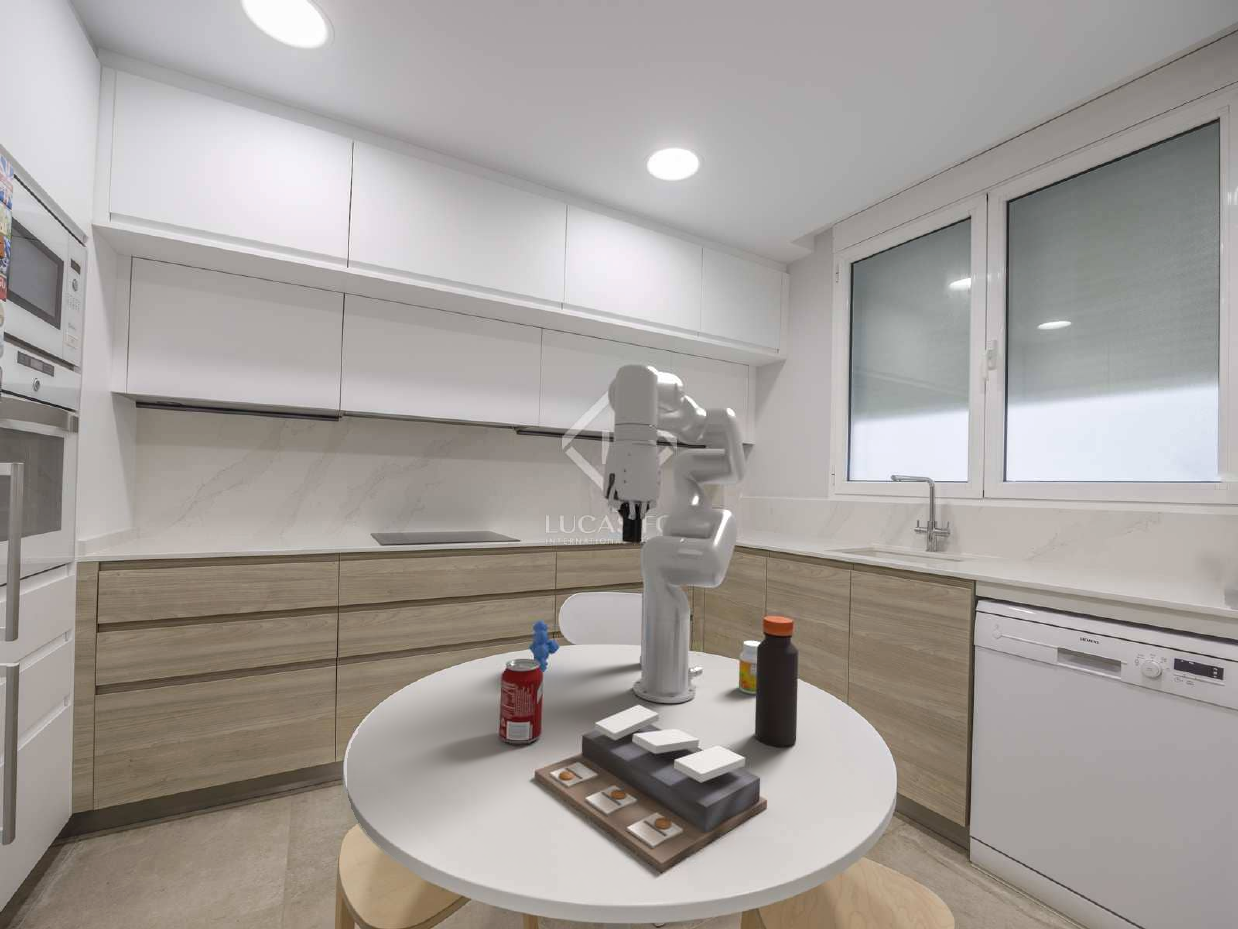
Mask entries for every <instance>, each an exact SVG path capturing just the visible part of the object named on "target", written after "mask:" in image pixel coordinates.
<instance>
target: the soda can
mask: <svg viewBox="0 0 1238 929" xmlns="http://www.w3.org/2000/svg"><path fill="white" fill-rule="evenodd" d="M533 659H534V658H533ZM533 659H531V658H516V659H511V660H508V661H507V662H506V663H505V669H504V671H503V672H502V674H501V678H500V679H501V680H500V681H501V684H500V707H499V708H500V709H499V726H498V727H499V728H498V729H499V732H498V735H499V738H500V739H502V741H504V742H506V743H508V744H511V745H516V746H520V745H527V744H530V743H532V742H534V741H535V740H537V739H539V737H540V736H541V734H542V718H543V717H542V716H543V715H542V713H543V691H544V690H543V689H544V673H543V672H542V671H541V669H540V668H539V666H540V663H539V662H538V661H536V660H533Z"/></svg>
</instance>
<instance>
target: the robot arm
mask: <svg viewBox="0 0 1238 929" xmlns="http://www.w3.org/2000/svg"><path fill="white" fill-rule="evenodd" d="M607 398H608V403H609V405H610V407H611V409H612V411H613V412H614V426H613V428H614V429H613V442H611V443H609V446H608V449H607V454H606V459H605V465H604V471H603V472H604V473H603V483H602V485H603V486H602V495H603V496H602V497H603V498H604V499H606V500H607V507H609V508H611V509H614V510H616V511H617V512H618V514H619V517H620V519H621V520H622V532H621V533H622V538H621V539H622V542H624V543H629V544H630V543H632V544H636V543H638V544H639V543H641V542H642V531H643V527H642V526H643V520H645V519H646V514H647V513H648V511H649V510H652V509H655V508H656V507H657V506H658V504H657V503H658V502H657V500H658V499H659V498H660V494H661V486H662V485H661V483H662V482H661V481H662V480H661V478H662V476H661V460H660V459H661V458H660V452H659V446H658V444H657V440H659V433H658V431H661V432H667V433H669V434H670V435H672V436H673V437H674V438H676V439H677V440H679V441H680V442H682V444H686V445H692V446H723V448H691V449H685V450H681V451H680V452H679V453H678V454H677V455H676V456H675V457H674V460H673V466H672V474H673V486H674V491H675V501H674V502H673V505H672V506H671V509H670V510H669V512H668V515H667V516H666V518H665V521H664V523H663V526H662V531H661V532H662V535H659V536H654V537H650V538H649V539H647V540H646V541H645V542H644V544H643V545H642V547H641V550H640V567H641V572H642V573H641V574H642V575H641V576H642V582H643V592H644V616H643V646H642V666H641V676H640V677H641V678H639V679H637V680H636V681H635V682H634V683H633V686H632V688H633V692H634V694H635V695H636V696H637V697H639V698H641V699H644V700H646V701H650V702H654V703H660V704H679V703H684V702H687V701H690V700H691V699H694V697H695V696H696V687H695V686H694V684H693V683H692V681H691V680H693V679H694V678H696V677H700V676H702V674H703V669H702V667H701V666H699V665H697V666H694V667H690V666H689V662H690V660H689V659H690V630H691V629H690V627H691V625H690V624H691V604H690V601H689V599H688V597H687V595H686V593H685V591H684V590H683V589H682V587H681V586H689V587H690V586H691V587H699V588H709V589H710V588H711V589H712V588H717V587H718V586H720V585H721V584H722V582H723V581H724V579H725V576H726V574H727V571H728V568H729V565H730V562H731V558H732V556H733V553H734V550H735V546H736V543H737V542H736V541H737V536H738V535H737V534H738V525H737V519H736V517H735V515H734V514H733V513H732V512H731V511H730V510H728V509H725V508H720V507H719V508H718V507H713V503H712V500H711V498H710V497H709V495H708V494H707V492H706V491H705V490H704V489H703V488H702V487H701V486H700V485H716V486H717V485H721V486H722V485H723V486H724V485H725V486H728V485H729V486H734V485H737V484H740V483H741V482H742V481H743V479H745V474H746V458H745V453H744V447H743V439H742V433H741V428H740V424H739V421H738V418H737V416H736V414H735V412H734V411H733V410H732V409H731V408H728V407H700V406H699V405H698V404H696V402H695V401H694V400H693V399H692V398H690V397H689V396H687V395H686V394H685V387H684V385H683V383H682V381H681V379H679V377H678V376H676V375H675V374H673V373H670V372H663V371H659V370H657V369H656V368H655V367H653V366H650V365H646V364H626V365H622V366H621V367H619V368H618V369H617V371H616V374H615V378H614V379H613V380H612V381H611V382H610V384H609V386H608V390H607Z"/></svg>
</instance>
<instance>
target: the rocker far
mask: <svg viewBox="0 0 1238 929" xmlns="http://www.w3.org/2000/svg"><path fill="white" fill-rule="evenodd" d="M659 718H660V716H659V713H658V712H655V711H654V710H652V709H649V708H647V707H644V706H642V705H640V704H636V705H634V706H633V707H630V708H627V709H625V710H623V711H620V712H617V713H616V714H613V715H610V716H609V717H605V718H603V719H601V720H598V721H596V722H594V729H595V730H594V731H596V730H597V731H599V732H601V733H602V734H604V735H606V736H608V737H610V738H611V739H613V740H617V739H619V738H621V737H624V736H626V735H628V734H630V733H632V732H635V731H637V730H639V729H641V728H643V727H645V726H648V725H650V724H651V725H652V724H654V723H656V722H658V721H659Z"/></svg>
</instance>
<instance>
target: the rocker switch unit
mask: <svg viewBox="0 0 1238 929" xmlns="http://www.w3.org/2000/svg"><path fill="white" fill-rule="evenodd" d="M662 730H663V729H661V728H658V727H657V726H655V725H652V724H650V725H648V726H645V727H643V728H641V729H639V730H637V731H635V732H632V733H630V734H628V735H626V736H624V737H621V738H619V739H617V740H613V739H611V738H610V737H608V736H606V735H604V734H602V733H601V732H599V731H597V730H594V731H591V732H587V733H585V734H582V736H581V753H579V754H577V755H573V756H570V757H569V758H566V759H562V760H560V761H557V762H554V763H552V764H549V765H547V766H544V767H541V768H539V769H538V768H537V769H535V770H534V778H535V780H537V781H538V782H540V783H541V784H542V785H544V786H545V787H546V788H547V789H549V790H551V791H552V792H553V793H555V795H557V796H559V798H560V799H563V800H564V801H565V802H566V803H567V804H569V805H570V806H572V807H573V808H574V809H576V810H577V811H578V812H580V813H582V814H583V815H584V816H585V817H586V818H587V819H589V820H591V821H592V822H593V823H595V825H597V826H599V827H600V828H601V829H602V830H604V831H605V832H607V833H608V834H610V835H611V836H612V837H613V838H614V839H616V840H617V841H618V842H620V843H621V844H623V845H624V846H625V847H626V848H628V849H629V850H631V851H632V852H633V853H635V854H636V855H637V856H638V857H639V858H641V859H642V860H643V861H645V862H647V863H648V864H649V865H651V866H652V867H653V868H655V869H656V870H657V871H659V873H664V872H665V871H667V870H668V869H670V868H671V867H673V866H675V865H676V864H677V863H679V862H681V861H683V860H684V859H686V858H688V857H689V856H691V855H692V854H694V853H696V852H698V851H699V850H701V849H702V848H704V847H706V846H708V845H709V844H711V843H712V842H713V841H716V839H718V838H720V837H722V836H723V835H725V834H727V833H728V832H729V831H732V830H734V829H735V828H736V827H738V826H739V825H741V824H743V823H744V822H746V821H748V820H749V819H751V818H752V817H754V816H755V815H757V814H759V813H761V812H762V811H764V810H765V809H767V808H768V799H766V798H764V797H762V796H761V794H760V793H761V792H760V790H761V789H760V787H761V777H760V776H757V775H755V774H754V773H751V772H750V771H747V770H745V769H743V768H742V767H740V768H737V769H735V770H732V771H730V772H727V773H725V774H722V775H719V776H717V777H714V778H712V779H709V780H706V781H704V782H699V781H697V780H695V779H694V778H692V777H690V776H688V775H686V774H684V773H682V772H681V771H679V770H677V769H675V768H674V762H675V760H676V759H679V758H682V757H685V756H688V755H691V754H694V753H697V752H700V751H703V750H704V749H702V748H700V747H699V746H698V747H695V748H688V749H682V750H676V751H670V752H663V753H657V754H655V753H653V752H651V751H649V750H647V749H645V748H643V747H641V746H640V745H638V744H636V743H634V742H632V739H633V734H637V733H645V732H654V731H662Z"/></svg>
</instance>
